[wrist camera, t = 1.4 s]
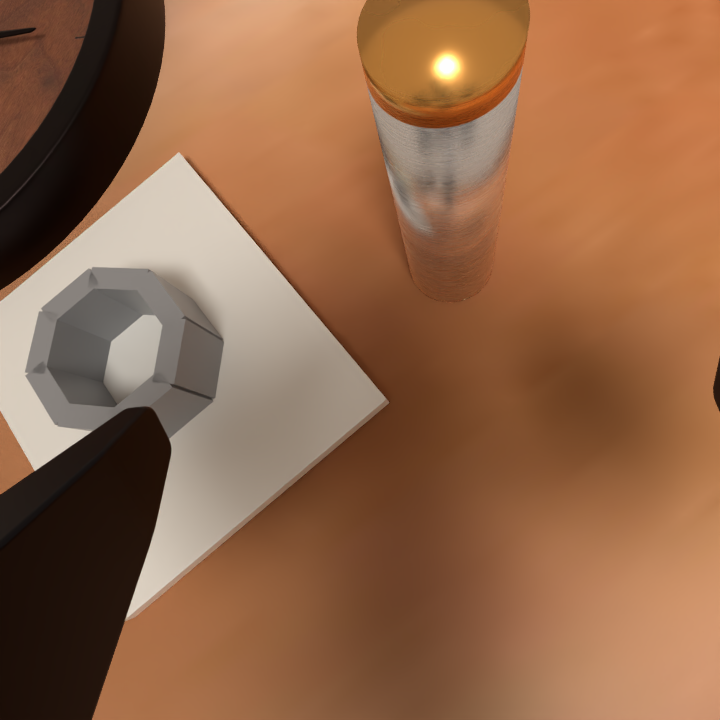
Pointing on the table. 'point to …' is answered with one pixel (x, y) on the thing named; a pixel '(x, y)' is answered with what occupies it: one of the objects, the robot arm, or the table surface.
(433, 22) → the gold topped patterned cylinder
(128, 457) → the robot arm
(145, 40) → the wall clock
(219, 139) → the table surface
